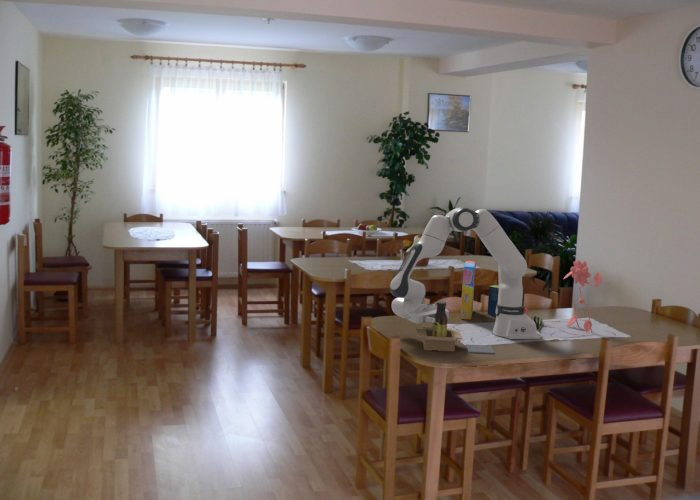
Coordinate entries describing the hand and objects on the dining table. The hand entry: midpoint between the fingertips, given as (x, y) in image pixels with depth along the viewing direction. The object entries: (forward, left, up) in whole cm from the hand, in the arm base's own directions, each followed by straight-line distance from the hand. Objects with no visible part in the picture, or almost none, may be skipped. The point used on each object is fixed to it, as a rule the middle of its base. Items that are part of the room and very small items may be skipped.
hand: (441, 319), depth 324 cm
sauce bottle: (0, -1, -12) cm, 12 cm away
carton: (+1, -1, -12) cm, 12 cm away
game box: (-19, -63, -13) cm, 67 cm away
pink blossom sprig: (-69, -41, -13) cm, 81 cm away
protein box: (-39, -64, -13) cm, 76 cm away
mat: (-17, +1, -12) cm, 21 cm away
